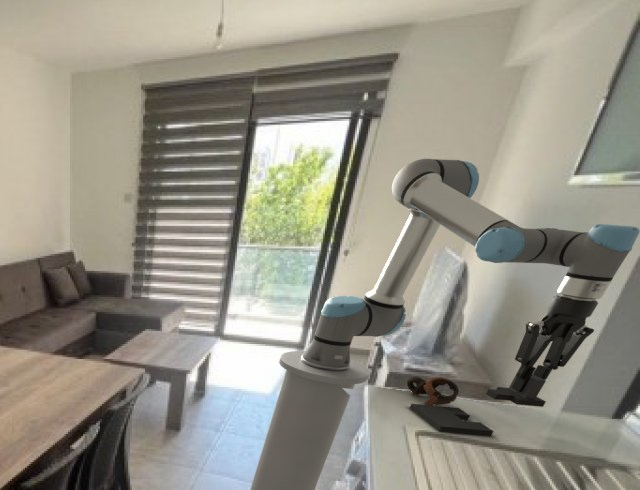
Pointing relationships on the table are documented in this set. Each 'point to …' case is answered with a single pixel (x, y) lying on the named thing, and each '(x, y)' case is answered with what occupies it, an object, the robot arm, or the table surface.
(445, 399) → the brown double ring
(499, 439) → the table surface
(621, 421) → the table surface
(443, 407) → the large pad
